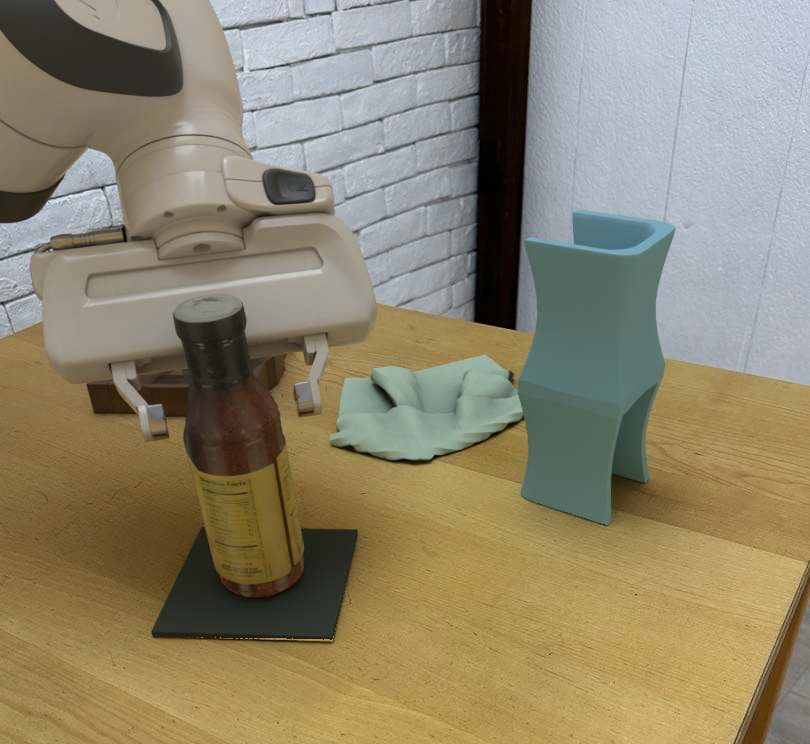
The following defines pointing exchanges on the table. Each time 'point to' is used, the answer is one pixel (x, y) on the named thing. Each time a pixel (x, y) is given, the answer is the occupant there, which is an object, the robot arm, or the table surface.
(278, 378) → the bottle rack
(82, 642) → the table surface
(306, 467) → the table surface
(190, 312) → the sauce bottle
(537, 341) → the teal waisted open shell
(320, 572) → the mat
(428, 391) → the cloth
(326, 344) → the robot arm
